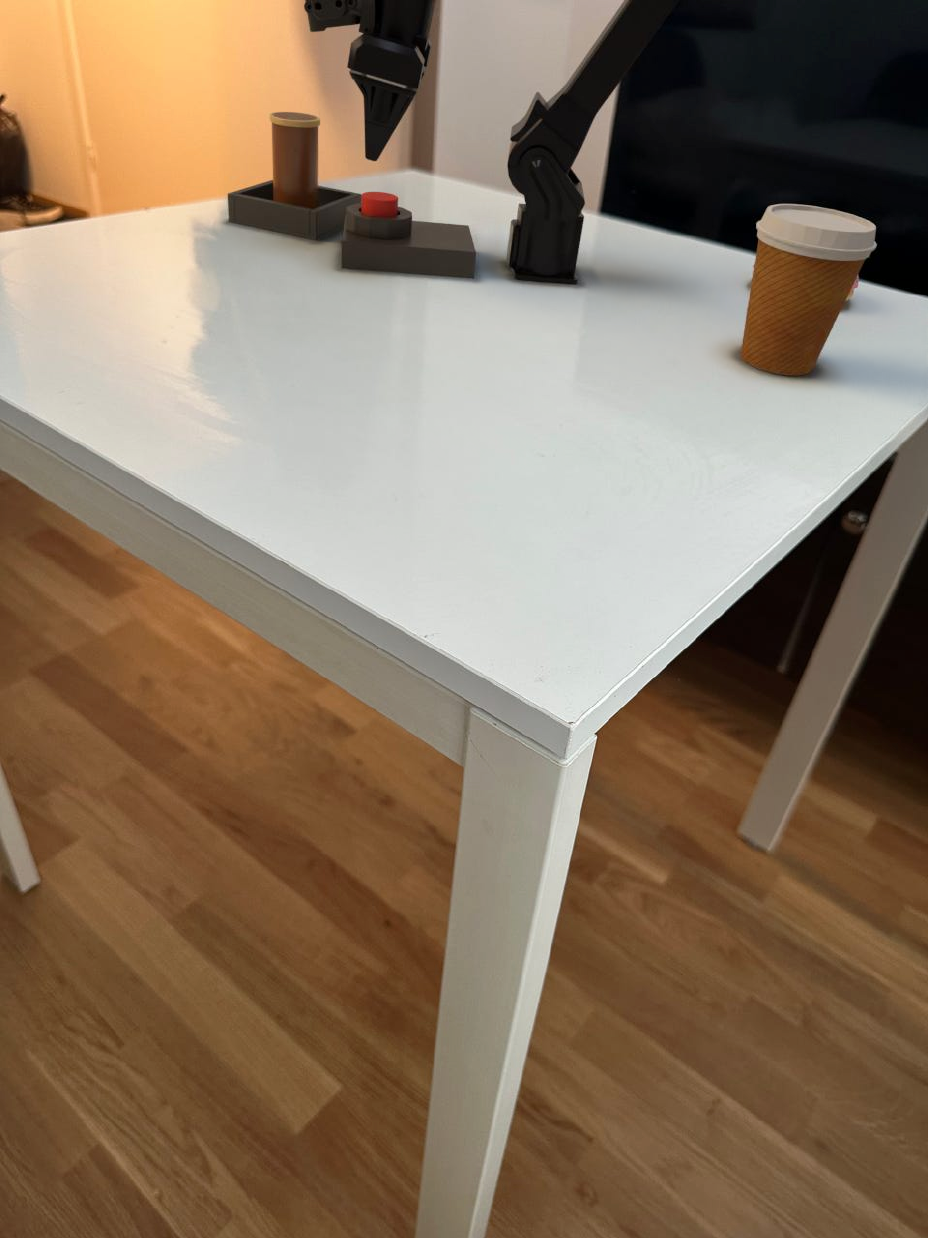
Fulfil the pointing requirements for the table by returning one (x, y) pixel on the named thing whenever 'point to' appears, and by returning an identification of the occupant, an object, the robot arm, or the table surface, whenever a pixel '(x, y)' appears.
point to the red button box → (406, 245)
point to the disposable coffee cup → (801, 283)
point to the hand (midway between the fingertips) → (375, 150)
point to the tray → (290, 211)
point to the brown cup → (295, 158)
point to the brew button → (379, 204)
